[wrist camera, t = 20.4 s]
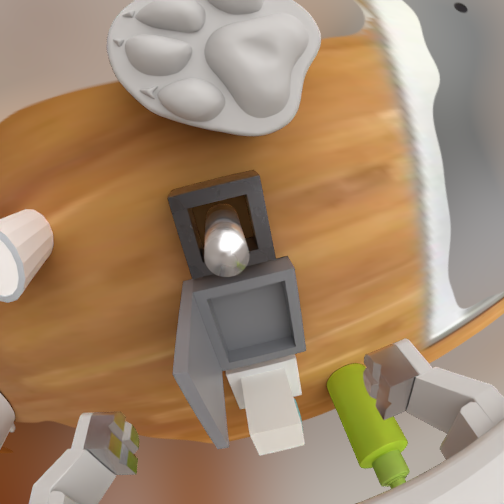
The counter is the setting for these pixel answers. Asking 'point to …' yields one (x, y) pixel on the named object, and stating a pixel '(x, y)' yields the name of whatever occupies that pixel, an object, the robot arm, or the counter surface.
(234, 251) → the rod
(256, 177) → the rod bracket
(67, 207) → the counter surface
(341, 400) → the soap dispenser
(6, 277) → the white faceted tapered cup
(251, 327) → the grey device stand
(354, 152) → the counter surface
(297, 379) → the plate
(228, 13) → the lumpy-topped squat cylinder
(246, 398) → the block
